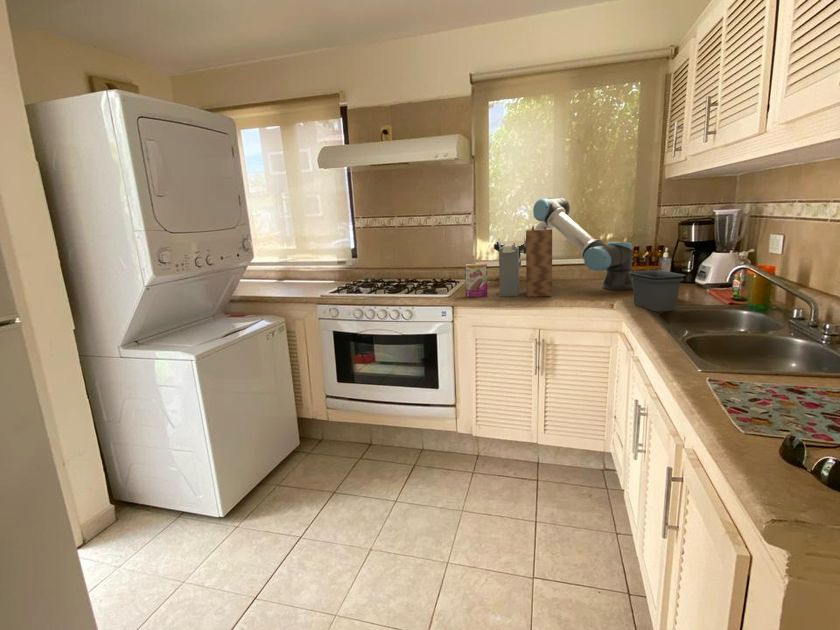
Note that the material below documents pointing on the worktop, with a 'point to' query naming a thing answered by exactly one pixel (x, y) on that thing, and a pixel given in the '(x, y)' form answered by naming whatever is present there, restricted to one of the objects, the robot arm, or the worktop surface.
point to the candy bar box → (476, 280)
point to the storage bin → (656, 289)
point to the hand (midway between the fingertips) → (511, 239)
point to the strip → (508, 247)
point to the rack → (509, 272)
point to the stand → (539, 262)
